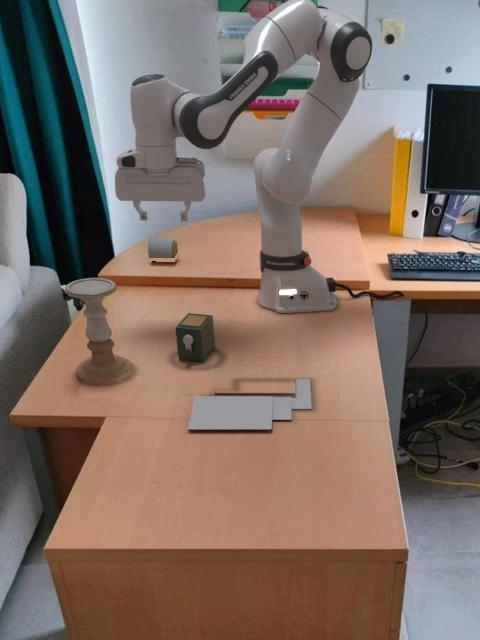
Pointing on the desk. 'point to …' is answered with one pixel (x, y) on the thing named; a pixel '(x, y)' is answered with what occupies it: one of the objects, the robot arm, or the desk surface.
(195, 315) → the sharpener
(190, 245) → the desk surface
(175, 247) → the grey cylinder
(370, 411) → the desk surface
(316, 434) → the desk surface
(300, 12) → the robot arm
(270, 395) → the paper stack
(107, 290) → the candle holder
